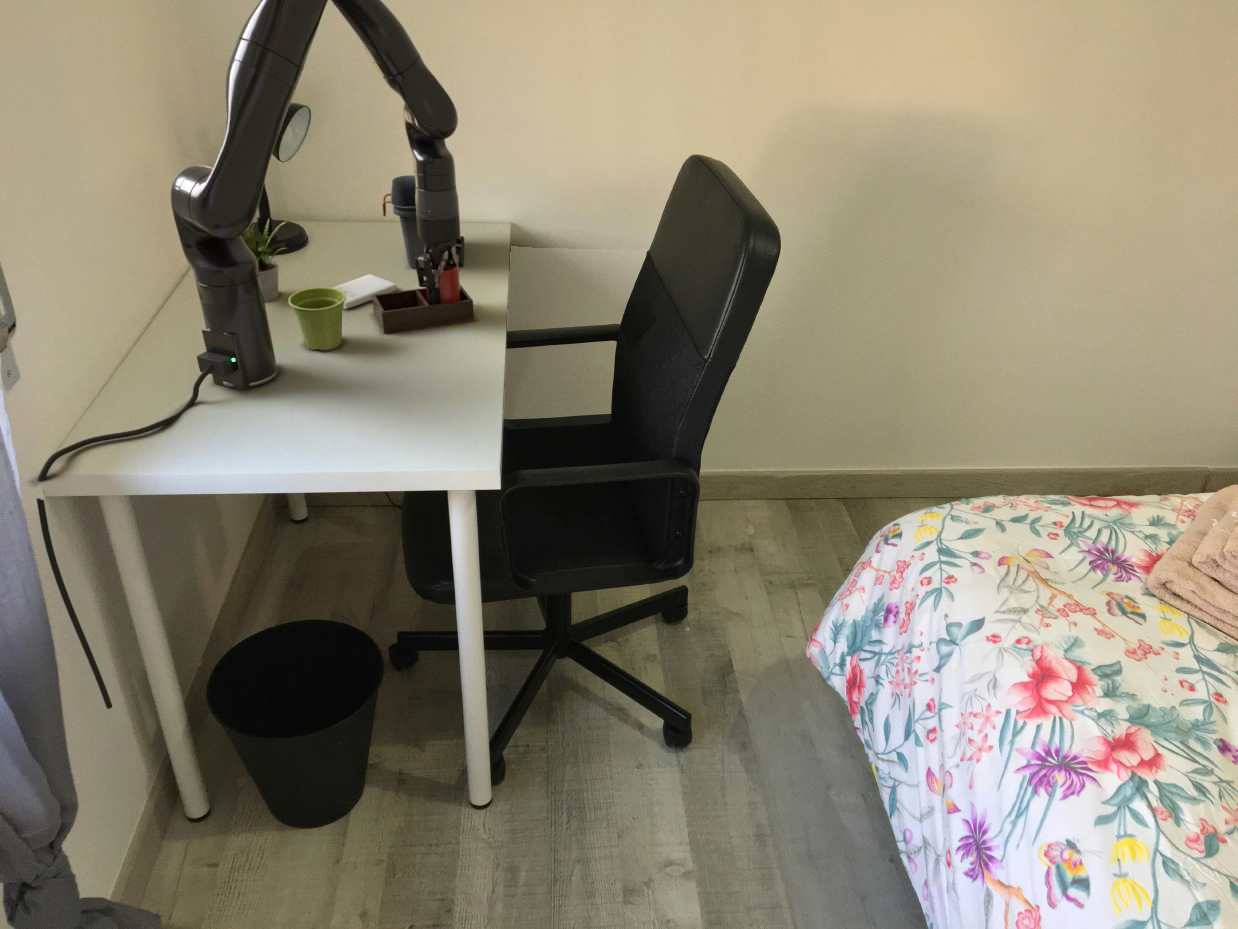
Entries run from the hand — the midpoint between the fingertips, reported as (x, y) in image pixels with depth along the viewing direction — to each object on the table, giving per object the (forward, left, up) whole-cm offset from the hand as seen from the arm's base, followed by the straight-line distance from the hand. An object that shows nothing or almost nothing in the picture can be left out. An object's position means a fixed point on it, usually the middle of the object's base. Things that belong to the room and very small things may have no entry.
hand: (444, 298), depth 170 cm
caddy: (-3, +3, -3) cm, 5 cm away
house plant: (-8, +37, -3) cm, 38 cm away
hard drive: (+1, +20, -3) cm, 20 cm away
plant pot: (-20, +13, -3) cm, 24 cm away
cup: (0, 0, -2) cm, 2 cm away
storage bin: (+26, +20, -3) cm, 33 cm away
